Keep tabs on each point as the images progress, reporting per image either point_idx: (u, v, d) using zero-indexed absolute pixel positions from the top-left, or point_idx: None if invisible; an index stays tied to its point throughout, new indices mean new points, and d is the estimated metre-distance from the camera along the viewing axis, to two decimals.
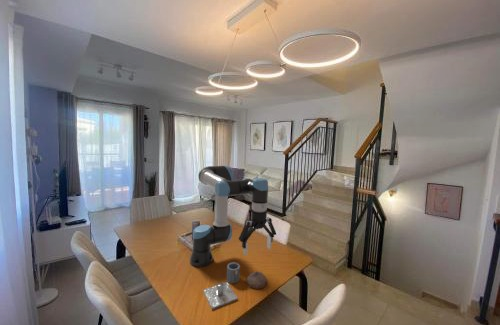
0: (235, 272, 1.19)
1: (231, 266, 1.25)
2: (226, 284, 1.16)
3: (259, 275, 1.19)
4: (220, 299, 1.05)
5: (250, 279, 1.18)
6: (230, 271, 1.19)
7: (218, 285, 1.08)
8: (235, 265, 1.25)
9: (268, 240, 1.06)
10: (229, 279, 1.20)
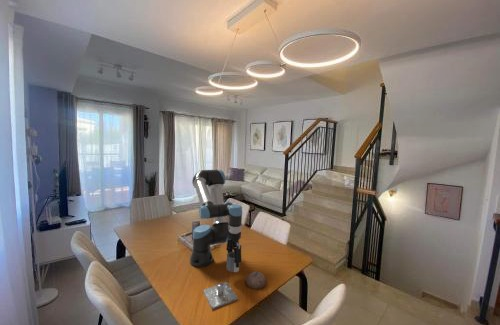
0: None
1: (231, 255, 1.25)
2: (226, 284, 1.16)
3: (258, 275, 1.19)
4: (220, 299, 1.05)
5: (250, 279, 1.18)
6: (230, 260, 1.19)
7: (218, 285, 1.08)
8: None
9: None
10: (229, 268, 1.20)
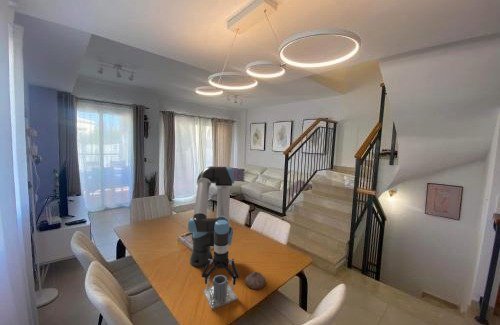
0: (227, 283, 1.08)
1: (214, 282, 1.09)
2: None
3: (258, 275, 1.19)
4: (220, 299, 1.05)
5: (249, 279, 1.17)
6: (223, 285, 1.06)
7: None
8: (217, 278, 1.11)
9: None
10: (222, 295, 1.06)
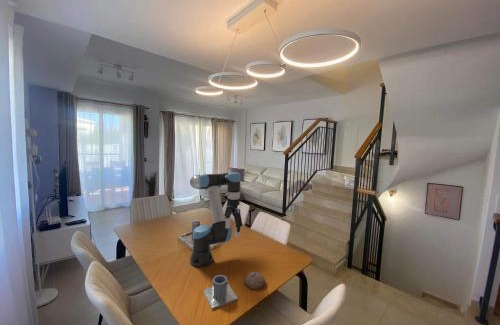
0: (227, 283, 1.08)
1: (214, 282, 1.09)
2: None
3: (257, 276, 1.19)
4: (220, 299, 1.05)
5: (248, 280, 1.17)
6: (223, 285, 1.06)
7: None
8: (217, 278, 1.11)
9: None
10: (222, 295, 1.06)
